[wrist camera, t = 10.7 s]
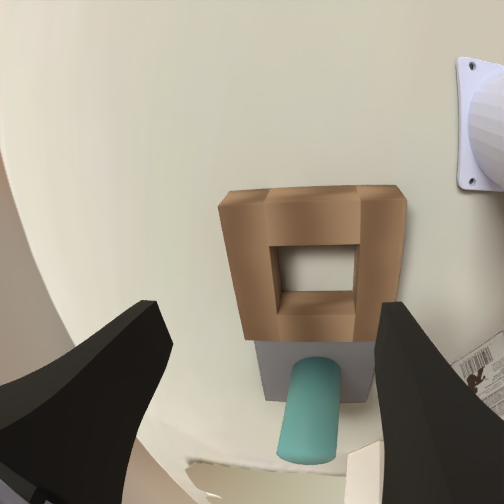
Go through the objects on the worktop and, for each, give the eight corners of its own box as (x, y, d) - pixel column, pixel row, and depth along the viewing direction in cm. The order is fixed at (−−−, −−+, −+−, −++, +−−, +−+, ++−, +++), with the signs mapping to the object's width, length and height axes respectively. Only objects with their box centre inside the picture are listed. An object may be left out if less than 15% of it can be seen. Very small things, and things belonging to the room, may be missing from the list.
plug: (333, 352, 23) (326, 442, 16) (345, 381, 24) (341, 462, 18) (284, 361, 24) (267, 445, 18) (301, 388, 26) (288, 465, 19)
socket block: (396, 185, 16) (406, 200, 14) (383, 316, 21) (387, 340, 19) (229, 191, 19) (217, 206, 16) (252, 316, 23) (245, 340, 21)
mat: (381, 326, 21) (382, 331, 21) (365, 397, 26) (365, 402, 26) (253, 326, 24) (252, 331, 23) (266, 395, 29) (265, 400, 28)
